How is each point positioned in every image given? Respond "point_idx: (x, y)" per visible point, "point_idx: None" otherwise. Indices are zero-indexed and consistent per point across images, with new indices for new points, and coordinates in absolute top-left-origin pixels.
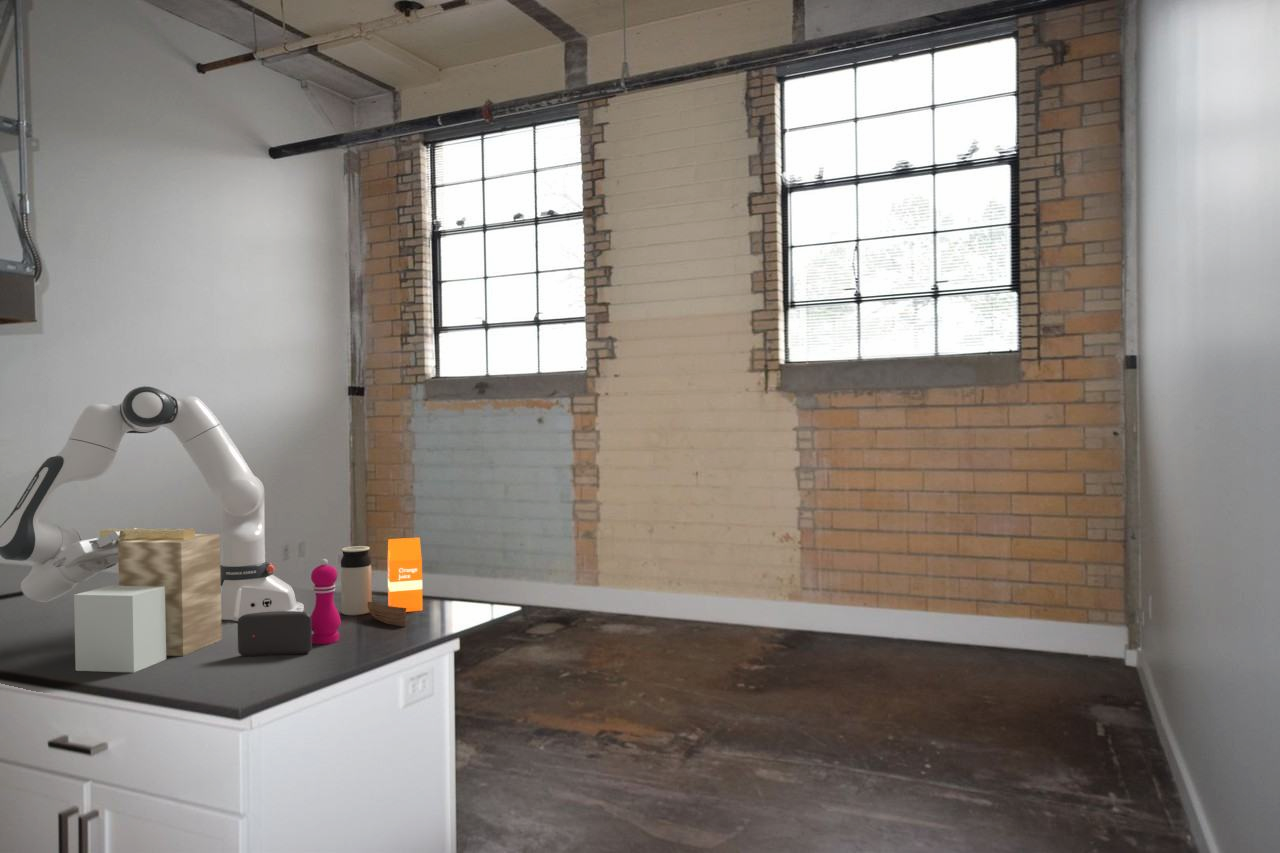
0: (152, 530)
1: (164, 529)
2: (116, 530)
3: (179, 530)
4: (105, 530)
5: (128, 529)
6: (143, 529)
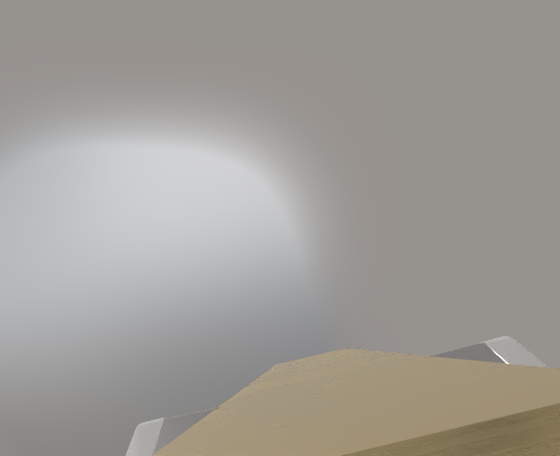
0: (353, 353)
1: (304, 363)
2: (441, 358)
3: (335, 351)
4: (534, 368)
5: (327, 376)
6: (314, 368)
